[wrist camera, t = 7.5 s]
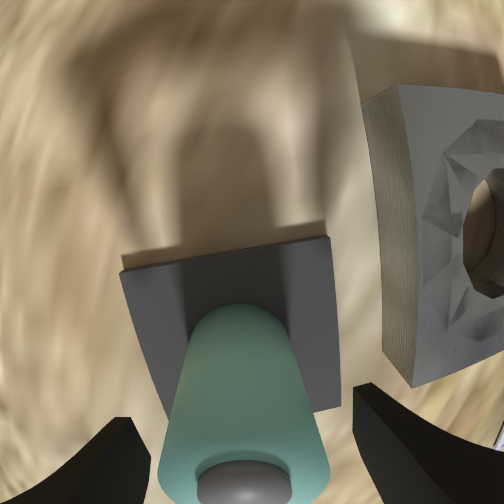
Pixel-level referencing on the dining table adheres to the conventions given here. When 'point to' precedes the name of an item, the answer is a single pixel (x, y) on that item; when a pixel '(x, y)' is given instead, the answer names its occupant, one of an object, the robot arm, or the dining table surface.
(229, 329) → the teal and grey cylinder
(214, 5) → the dining table surface
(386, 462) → the robot arm
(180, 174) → the dining table surface
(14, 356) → the dining table surface
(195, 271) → the mat
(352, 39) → the dining table surface
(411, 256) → the housing
